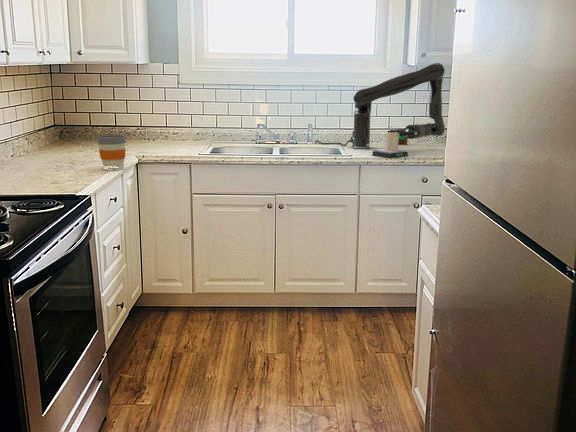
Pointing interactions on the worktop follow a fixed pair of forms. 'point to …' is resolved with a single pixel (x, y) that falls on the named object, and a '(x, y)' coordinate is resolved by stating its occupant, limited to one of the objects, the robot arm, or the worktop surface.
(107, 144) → the reusable coffee cup
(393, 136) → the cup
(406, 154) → the scale
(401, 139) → the food container
